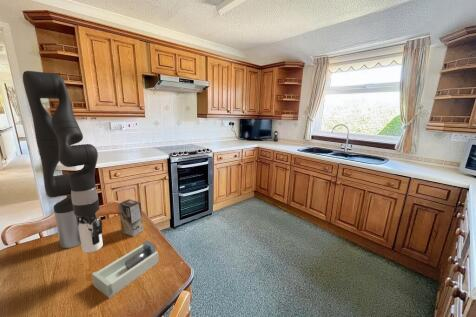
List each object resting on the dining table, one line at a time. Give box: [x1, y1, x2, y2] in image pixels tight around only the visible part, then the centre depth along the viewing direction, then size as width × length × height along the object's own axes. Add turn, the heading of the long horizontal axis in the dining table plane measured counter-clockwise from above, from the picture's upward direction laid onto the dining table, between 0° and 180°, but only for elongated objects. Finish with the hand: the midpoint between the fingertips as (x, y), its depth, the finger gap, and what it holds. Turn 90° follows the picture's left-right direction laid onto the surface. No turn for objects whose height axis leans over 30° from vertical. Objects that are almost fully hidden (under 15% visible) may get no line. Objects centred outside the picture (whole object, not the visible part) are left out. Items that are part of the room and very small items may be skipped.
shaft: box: [125, 240, 156, 270], centre depth 82 cm, size 5×10×6 cm, turn 150°
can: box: [78, 216, 104, 254], centre depth 76 cm, size 6×6×12 cm
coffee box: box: [118, 199, 144, 237], centre depth 104 cm, size 9×6×16 cm
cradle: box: [91, 244, 160, 299], centre depth 78 cm, size 10×20×5 cm, turn 150°
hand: (91, 240), depth 77 cm, fingers closed on can, 6 cm apart
